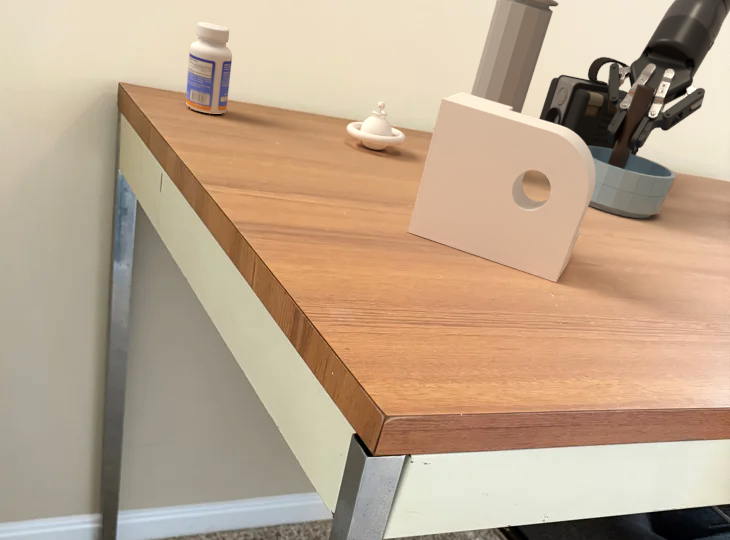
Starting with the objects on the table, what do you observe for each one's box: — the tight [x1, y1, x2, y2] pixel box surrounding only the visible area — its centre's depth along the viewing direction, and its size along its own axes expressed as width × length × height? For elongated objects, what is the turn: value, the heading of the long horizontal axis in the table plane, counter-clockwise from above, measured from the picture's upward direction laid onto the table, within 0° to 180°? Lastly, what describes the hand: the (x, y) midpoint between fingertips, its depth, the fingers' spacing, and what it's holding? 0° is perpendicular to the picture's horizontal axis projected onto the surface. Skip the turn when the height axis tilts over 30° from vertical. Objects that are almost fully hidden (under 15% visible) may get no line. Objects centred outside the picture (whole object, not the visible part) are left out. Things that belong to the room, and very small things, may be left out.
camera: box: [538, 56, 652, 155], centre depth 122 cm, size 11×14×15 cm
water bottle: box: [470, 0, 559, 114], centre depth 108 cm, size 9×8×25 cm
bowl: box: [588, 145, 677, 219], centre depth 112 cm, size 13×13×6 cm
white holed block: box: [407, 91, 596, 283], centre depth 84 cm, size 16×10×13 cm, turn 66°
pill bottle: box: [185, 21, 233, 114], centre depth 106 cm, size 5×5×10 cm
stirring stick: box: [608, 84, 656, 169], centre depth 110 cm, size 4×4×12 cm
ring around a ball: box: [346, 101, 406, 151], centre depth 110 cm, size 8×6×8 cm
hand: (622, 142), depth 109 cm, fingers closed on stirring stick, 2 cm apart
